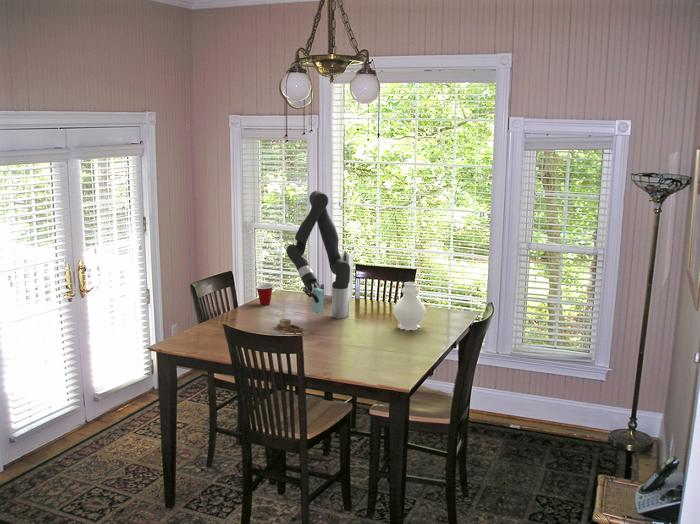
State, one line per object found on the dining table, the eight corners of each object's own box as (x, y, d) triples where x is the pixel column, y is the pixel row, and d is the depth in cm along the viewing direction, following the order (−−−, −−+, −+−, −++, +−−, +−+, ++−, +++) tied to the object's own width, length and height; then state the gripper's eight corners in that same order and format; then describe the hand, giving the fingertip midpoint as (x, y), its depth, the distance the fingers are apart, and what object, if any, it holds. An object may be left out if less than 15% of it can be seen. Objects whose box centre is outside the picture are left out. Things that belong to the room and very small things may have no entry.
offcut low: (286, 325, 392) (286, 322, 392) (291, 327, 389) (291, 323, 389) (279, 327, 389) (279, 323, 388) (283, 329, 386) (283, 325, 385)
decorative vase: (397, 321, 408) (399, 278, 403) (428, 324, 402) (430, 281, 397) (389, 329, 392) (390, 285, 387) (420, 333, 386) (422, 288, 381)
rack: (291, 325, 396) (291, 319, 396) (314, 334, 381) (314, 328, 380) (270, 329, 388) (270, 324, 387) (293, 338, 372) (293, 333, 371)
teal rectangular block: (316, 310, 391) (317, 287, 388) (323, 313, 387) (324, 290, 384) (312, 311, 389) (313, 288, 386) (318, 314, 385) (320, 290, 382)
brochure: (347, 301, 450) (348, 254, 444) (339, 300, 451) (340, 254, 445) (352, 296, 464) (353, 250, 458) (344, 295, 465) (345, 250, 459)
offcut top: (286, 322, 391) (286, 318, 391) (290, 323, 389) (290, 319, 388) (279, 323, 388) (279, 319, 388) (284, 325, 385) (284, 321, 385)
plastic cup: (254, 302, 442) (254, 283, 440) (272, 302, 445) (272, 283, 442) (256, 307, 432) (256, 287, 429) (274, 306, 434) (274, 287, 432)
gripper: (299, 273, 385) (313, 299, 378) (320, 270, 394) (333, 296, 387) (293, 280, 390) (307, 307, 383) (314, 277, 399) (327, 303, 392)
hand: (320, 301), depth 385 cm, fingers closed on teal rectangular block, 3 cm apart
